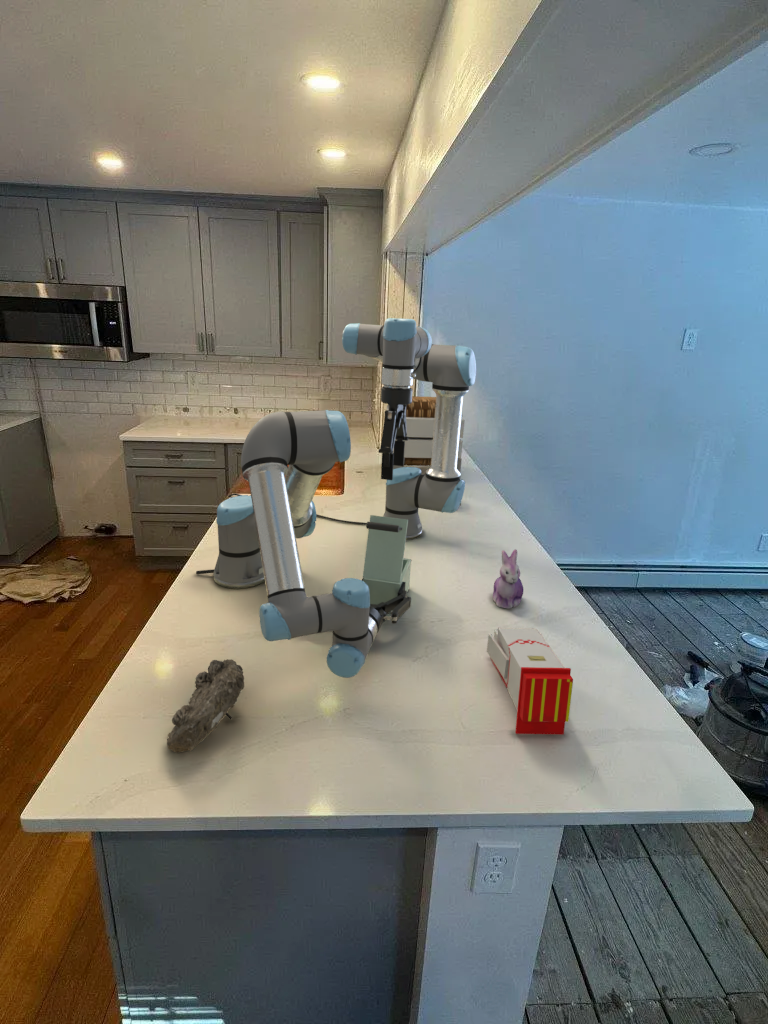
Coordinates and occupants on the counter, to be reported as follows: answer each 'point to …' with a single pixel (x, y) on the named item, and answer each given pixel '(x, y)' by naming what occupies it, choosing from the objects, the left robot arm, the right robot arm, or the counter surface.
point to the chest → (388, 585)
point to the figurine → (508, 583)
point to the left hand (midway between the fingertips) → (384, 583)
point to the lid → (385, 548)
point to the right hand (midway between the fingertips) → (392, 472)
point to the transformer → (422, 433)
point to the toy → (532, 679)
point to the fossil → (206, 705)
